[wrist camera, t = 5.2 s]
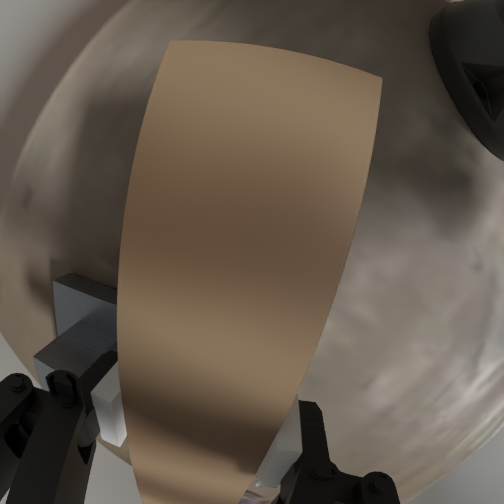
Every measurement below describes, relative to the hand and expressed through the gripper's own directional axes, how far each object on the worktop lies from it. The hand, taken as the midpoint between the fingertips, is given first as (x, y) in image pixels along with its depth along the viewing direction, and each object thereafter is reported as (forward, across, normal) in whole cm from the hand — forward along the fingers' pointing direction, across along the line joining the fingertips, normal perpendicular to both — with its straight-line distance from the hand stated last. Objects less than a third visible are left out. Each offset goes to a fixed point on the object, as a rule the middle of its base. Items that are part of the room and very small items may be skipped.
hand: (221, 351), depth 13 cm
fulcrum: (+4, -9, -4) cm, 10 cm away
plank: (-2, 0, 0) cm, 2 cm away
